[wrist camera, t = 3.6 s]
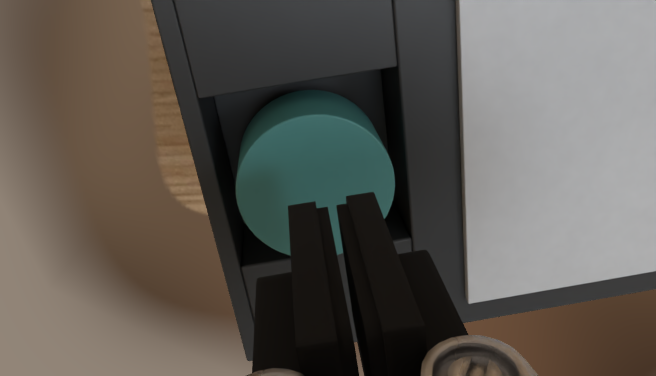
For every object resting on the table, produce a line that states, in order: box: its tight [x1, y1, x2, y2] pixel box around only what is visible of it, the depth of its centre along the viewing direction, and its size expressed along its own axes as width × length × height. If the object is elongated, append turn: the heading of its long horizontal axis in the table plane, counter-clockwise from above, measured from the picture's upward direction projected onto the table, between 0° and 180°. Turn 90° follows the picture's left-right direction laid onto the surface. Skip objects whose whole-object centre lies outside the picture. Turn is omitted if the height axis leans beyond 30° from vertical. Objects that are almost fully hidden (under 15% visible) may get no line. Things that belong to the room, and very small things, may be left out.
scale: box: [151, 0, 656, 361], centre depth 16 cm, size 16×12×3 cm
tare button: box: [236, 90, 395, 256], centre depth 15 cm, size 4×4×2 cm
